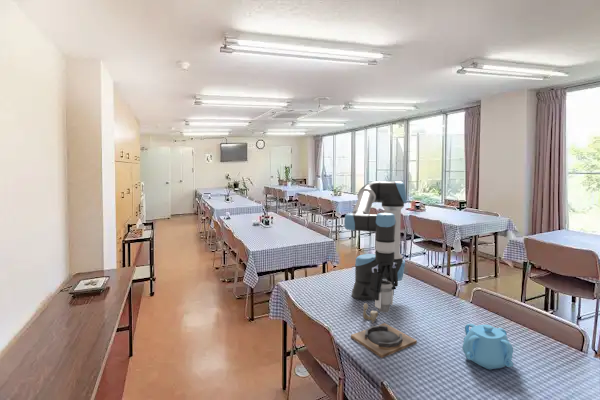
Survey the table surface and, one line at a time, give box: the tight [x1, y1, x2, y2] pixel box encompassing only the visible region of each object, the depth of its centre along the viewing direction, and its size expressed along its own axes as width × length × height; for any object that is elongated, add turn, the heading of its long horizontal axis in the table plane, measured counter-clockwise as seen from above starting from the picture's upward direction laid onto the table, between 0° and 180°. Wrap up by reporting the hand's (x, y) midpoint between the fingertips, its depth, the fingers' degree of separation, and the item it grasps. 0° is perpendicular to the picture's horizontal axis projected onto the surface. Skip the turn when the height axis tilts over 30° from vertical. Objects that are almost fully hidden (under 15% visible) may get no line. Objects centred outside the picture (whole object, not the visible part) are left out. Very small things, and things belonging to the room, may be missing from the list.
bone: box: [362, 302, 379, 324], centre depth 156 cm, size 9×6×10 cm
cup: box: [377, 280, 393, 314], centre depth 136 cm, size 7×7×12 cm
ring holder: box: [350, 322, 418, 359], centre depth 138 cm, size 20×18×3 cm
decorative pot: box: [462, 323, 514, 370], centre depth 123 cm, size 16×16×14 cm
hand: (383, 305), depth 137 cm, fingers closed on cup, 6 cm apart
